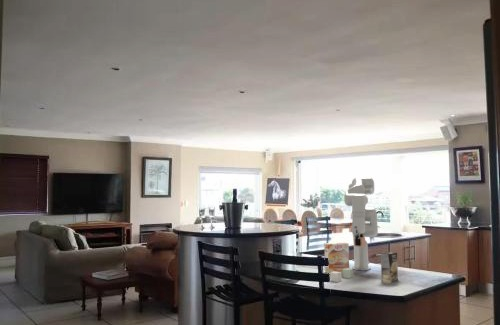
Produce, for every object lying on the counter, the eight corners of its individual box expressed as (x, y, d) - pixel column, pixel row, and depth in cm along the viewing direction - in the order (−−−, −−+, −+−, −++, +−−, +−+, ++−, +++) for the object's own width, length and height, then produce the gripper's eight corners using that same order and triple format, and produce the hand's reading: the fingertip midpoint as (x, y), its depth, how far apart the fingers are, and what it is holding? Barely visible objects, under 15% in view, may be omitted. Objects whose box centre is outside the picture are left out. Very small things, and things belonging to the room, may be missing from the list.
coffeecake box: (328, 274, 278) (327, 244, 280) (324, 272, 285) (323, 243, 287) (350, 273, 281) (348, 243, 282) (345, 271, 288) (344, 242, 289)
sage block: (345, 275, 271) (345, 268, 272) (353, 276, 268) (352, 268, 269) (342, 277, 267) (342, 269, 268) (350, 278, 264) (349, 269, 265)
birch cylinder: (384, 282, 250) (383, 273, 251) (392, 282, 247) (392, 274, 248) (381, 283, 246) (380, 274, 247) (389, 284, 243) (389, 275, 244)
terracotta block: (357, 245, 260) (357, 237, 260) (365, 245, 257) (365, 237, 257) (354, 246, 256) (353, 237, 256) (362, 246, 253) (361, 238, 253)
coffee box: (391, 281, 251) (390, 254, 253) (381, 280, 256) (380, 253, 257) (398, 279, 258) (397, 252, 259) (388, 277, 262) (387, 251, 264)
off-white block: (334, 279, 260) (333, 271, 260) (341, 280, 257) (341, 272, 257) (330, 281, 256) (330, 272, 256) (338, 281, 253) (337, 273, 253)
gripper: (358, 214, 267) (359, 243, 265) (347, 215, 253) (348, 246, 252) (369, 214, 262) (371, 243, 261) (359, 215, 248) (360, 247, 247)
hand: (359, 244), depth 256 cm, fingers closed on terracotta block, 5 cm apart
